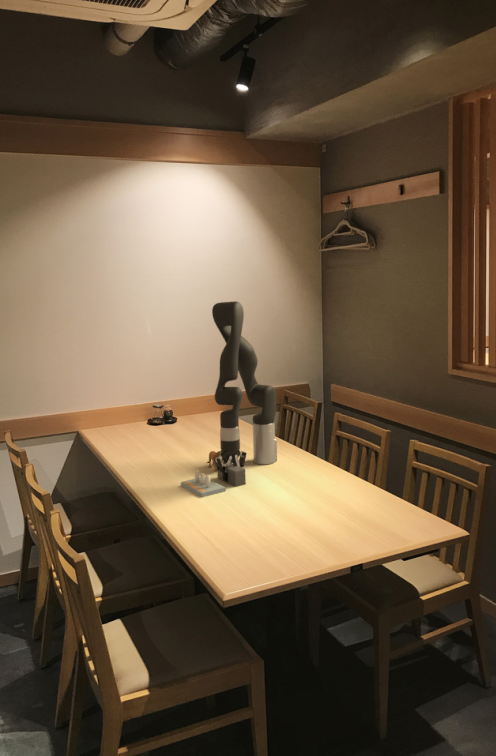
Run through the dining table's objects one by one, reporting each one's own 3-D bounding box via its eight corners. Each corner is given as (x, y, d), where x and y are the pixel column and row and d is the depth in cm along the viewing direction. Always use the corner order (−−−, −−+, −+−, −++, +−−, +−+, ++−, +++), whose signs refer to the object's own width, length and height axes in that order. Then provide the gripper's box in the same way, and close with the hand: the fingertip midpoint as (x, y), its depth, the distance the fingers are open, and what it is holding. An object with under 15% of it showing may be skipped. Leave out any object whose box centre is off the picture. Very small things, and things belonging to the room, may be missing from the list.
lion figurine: (230, 471, 264) (230, 450, 262) (219, 474, 261) (219, 452, 260) (212, 463, 276) (211, 442, 274) (201, 465, 273) (200, 445, 271)
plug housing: (227, 475, 259) (226, 461, 258) (245, 484, 248) (245, 468, 247) (217, 478, 256) (217, 463, 255) (235, 486, 246) (235, 471, 245)
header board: (203, 480, 254) (202, 465, 253) (225, 491, 241) (225, 475, 240) (181, 485, 249) (180, 470, 248) (202, 497, 236) (201, 481, 235)
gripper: (239, 432, 256) (240, 473, 259) (209, 438, 248) (210, 481, 251) (250, 436, 250) (251, 478, 253) (219, 442, 242) (221, 486, 245)
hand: (231, 479), depth 252 cm, fingers closed on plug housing, 4 cm apart
